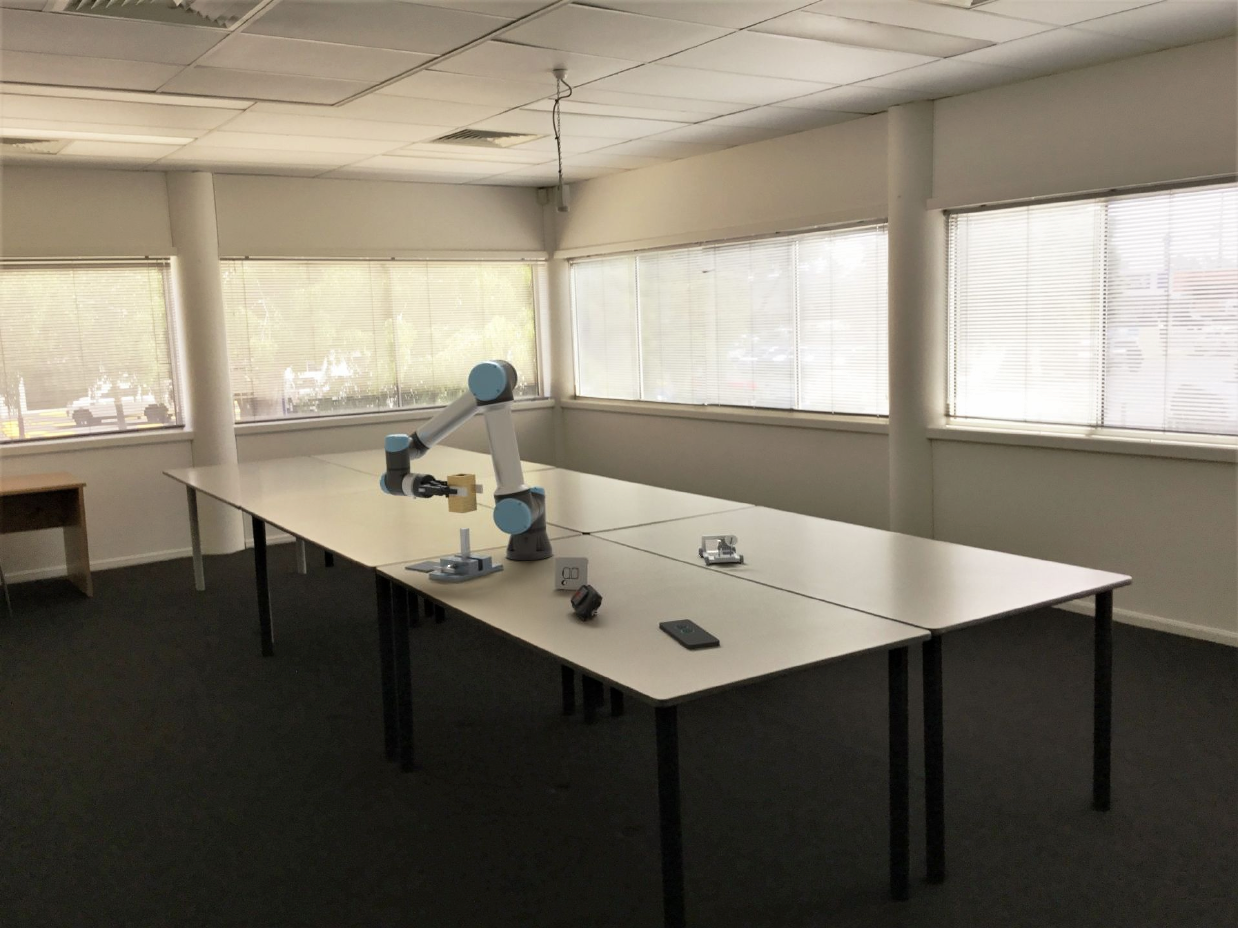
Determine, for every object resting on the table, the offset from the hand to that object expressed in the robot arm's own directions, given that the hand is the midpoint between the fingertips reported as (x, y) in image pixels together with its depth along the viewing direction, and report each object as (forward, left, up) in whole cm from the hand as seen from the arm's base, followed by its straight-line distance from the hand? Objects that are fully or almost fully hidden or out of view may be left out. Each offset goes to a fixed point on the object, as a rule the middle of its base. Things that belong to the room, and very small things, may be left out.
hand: (474, 490), depth 312 cm
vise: (+4, -2, -26) cm, 26 cm away
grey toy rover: (-73, -21, -27) cm, 80 cm away
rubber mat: (+19, -10, -26) cm, 34 cm away
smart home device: (-68, +60, -27) cm, 95 cm away
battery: (-41, +43, -26) cm, 65 cm away
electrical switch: (-32, +15, -26) cm, 44 cm away
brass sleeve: (+5, -2, -7) cm, 8 cm away
